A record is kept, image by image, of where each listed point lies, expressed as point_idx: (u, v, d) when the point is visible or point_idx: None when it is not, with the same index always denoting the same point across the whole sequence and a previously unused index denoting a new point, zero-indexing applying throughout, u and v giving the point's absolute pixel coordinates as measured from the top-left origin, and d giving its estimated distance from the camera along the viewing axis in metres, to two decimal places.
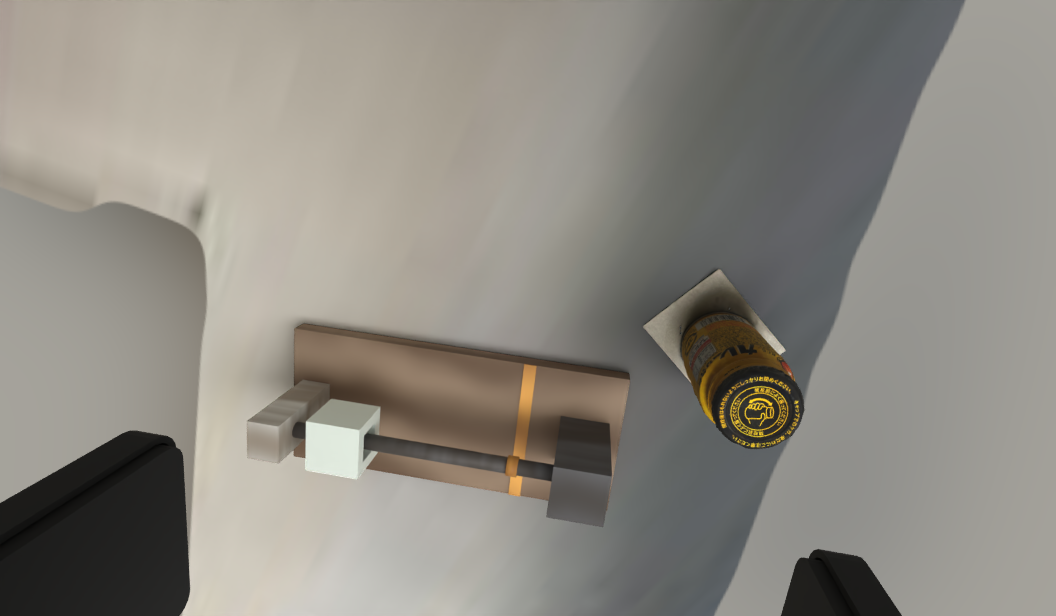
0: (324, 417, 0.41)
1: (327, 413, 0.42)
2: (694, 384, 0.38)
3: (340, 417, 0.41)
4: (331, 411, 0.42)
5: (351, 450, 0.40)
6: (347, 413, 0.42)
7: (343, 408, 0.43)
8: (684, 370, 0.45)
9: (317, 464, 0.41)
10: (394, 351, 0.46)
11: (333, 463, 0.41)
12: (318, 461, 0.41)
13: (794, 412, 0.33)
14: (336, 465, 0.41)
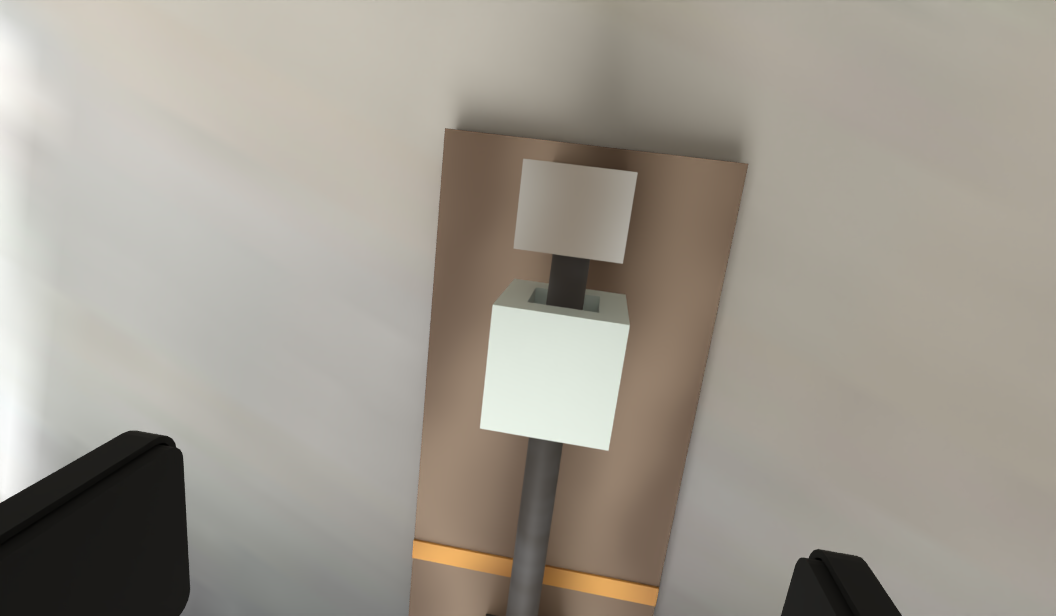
0: None
1: None
2: None
3: None
4: None
5: (554, 425, 0.17)
6: None
7: None
8: None
9: (510, 337, 0.17)
10: (688, 372, 0.24)
11: (517, 378, 0.17)
12: (520, 341, 0.17)
13: None
14: (512, 384, 0.17)
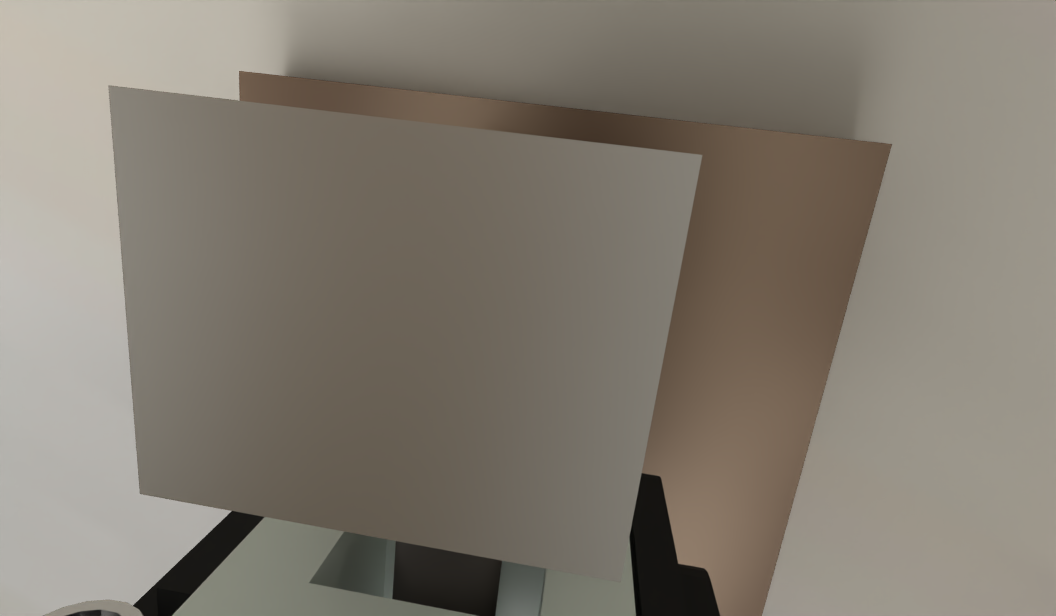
0: None
1: None
2: None
3: None
4: None
5: None
6: None
7: None
8: None
9: None
10: (744, 559, 0.12)
11: None
12: None
13: None
14: None
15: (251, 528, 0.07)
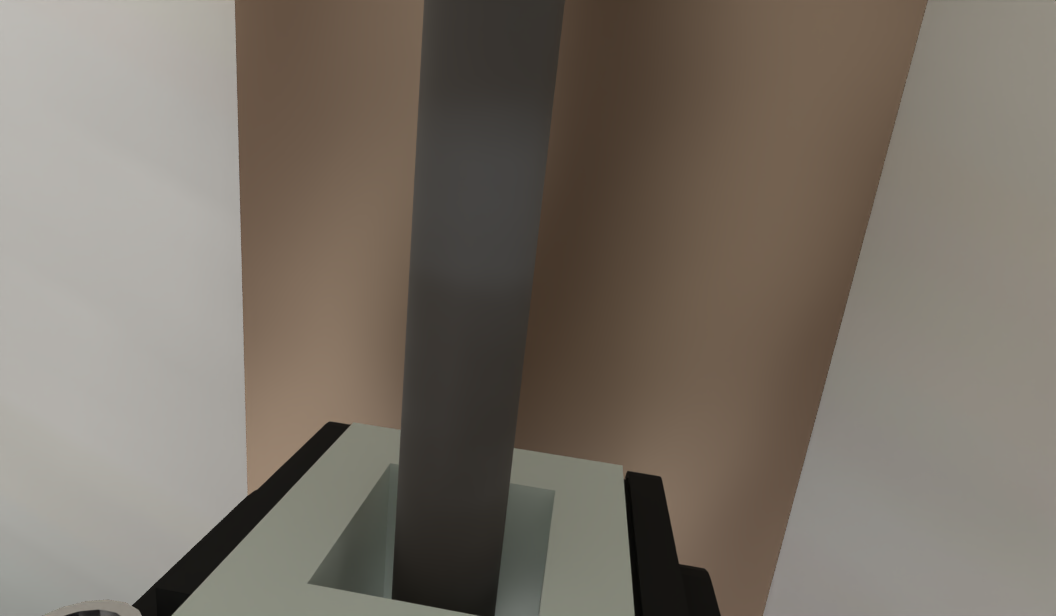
0: None
1: None
2: None
3: None
4: None
5: None
6: None
7: None
8: None
9: None
10: (823, 243, 0.10)
11: None
12: None
13: None
14: None
15: (250, 528, 0.07)
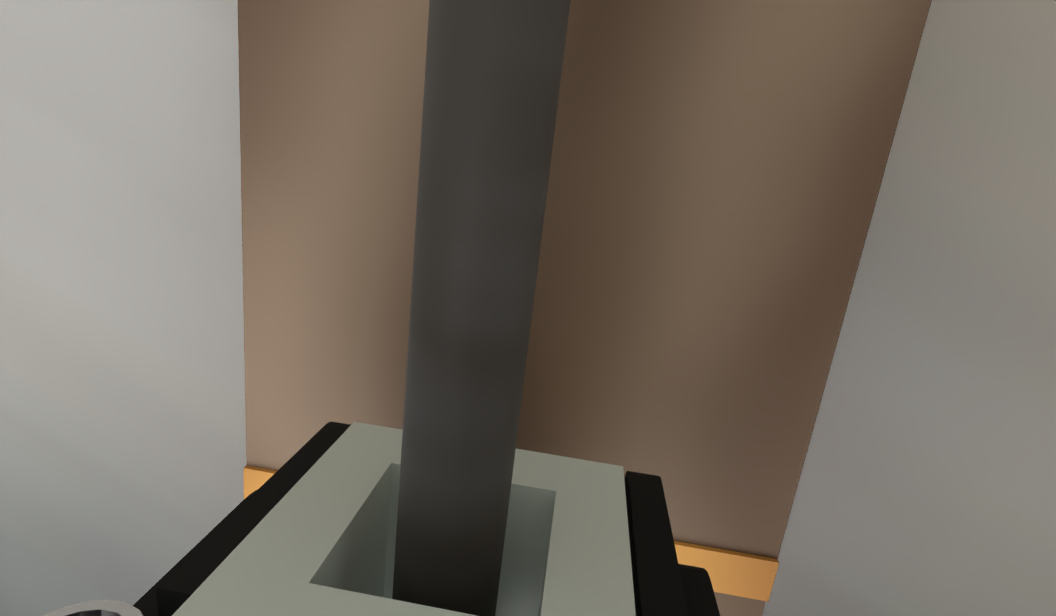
0: None
1: None
2: None
3: None
4: None
5: None
6: None
7: None
8: None
9: None
10: None
11: None
12: None
13: None
14: None
15: (251, 528, 0.07)
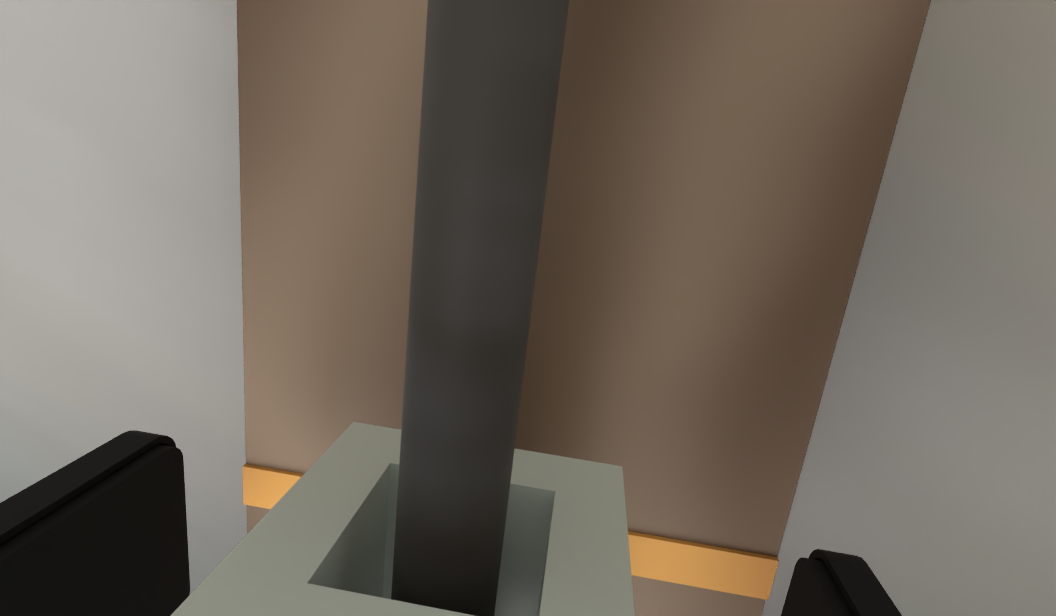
0: None
1: None
2: None
3: None
4: None
5: None
6: None
7: None
8: None
9: None
10: None
11: None
12: None
13: None
14: None
15: None
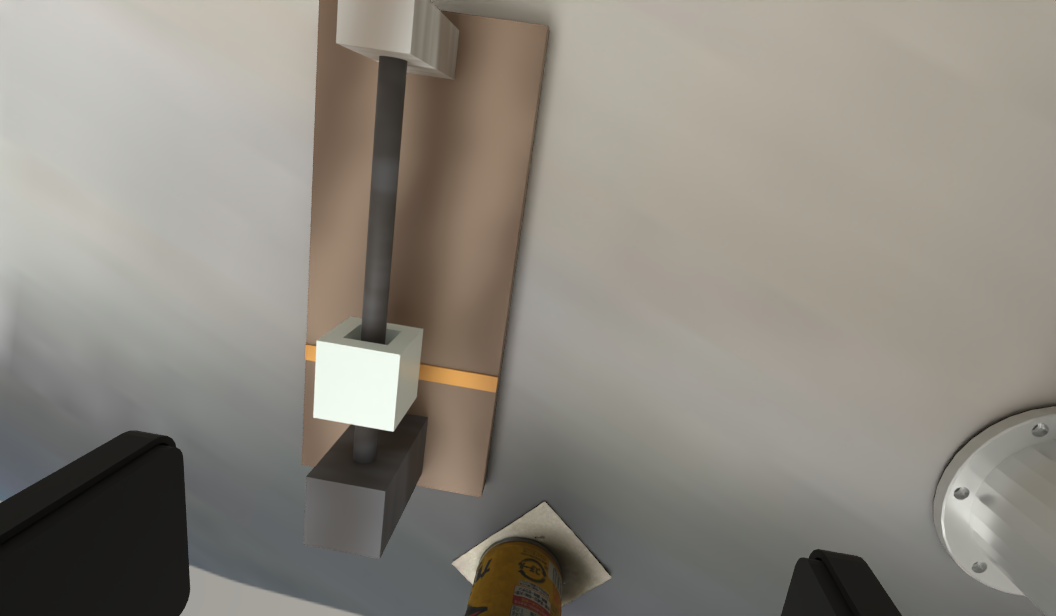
0: (404, 365, 0.27)
1: (408, 359, 0.28)
2: None
3: (405, 382, 0.28)
4: (410, 358, 0.28)
5: (359, 415, 0.27)
6: (409, 379, 0.29)
7: (414, 364, 0.29)
8: (490, 540, 0.39)
9: (328, 360, 0.26)
10: (511, 195, 0.31)
11: (334, 386, 0.27)
12: (335, 363, 0.26)
13: None
14: (331, 390, 0.27)
15: None
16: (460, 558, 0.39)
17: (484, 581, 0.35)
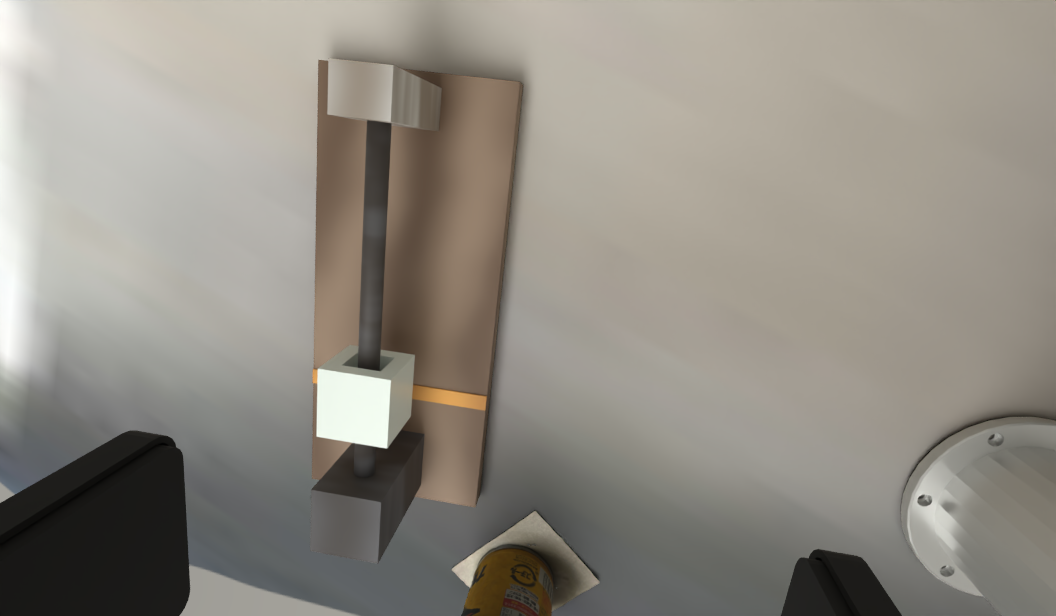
0: (396, 389, 0.30)
1: (400, 383, 0.31)
2: None
3: (397, 404, 0.31)
4: (402, 382, 0.31)
5: (356, 434, 0.30)
6: (402, 400, 0.32)
7: (406, 387, 0.32)
8: (486, 547, 0.42)
9: (328, 386, 0.30)
10: (493, 232, 0.34)
11: (334, 408, 0.30)
12: (334, 388, 0.30)
13: None
14: (332, 412, 0.30)
15: None
16: (459, 565, 0.42)
17: (478, 585, 0.38)
